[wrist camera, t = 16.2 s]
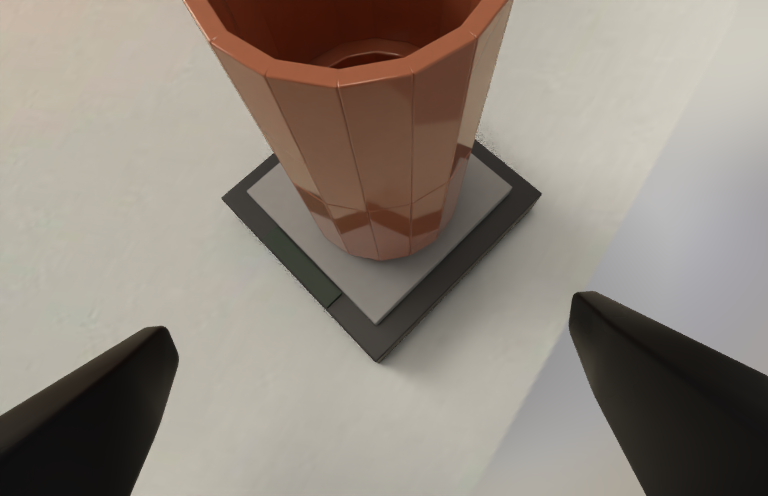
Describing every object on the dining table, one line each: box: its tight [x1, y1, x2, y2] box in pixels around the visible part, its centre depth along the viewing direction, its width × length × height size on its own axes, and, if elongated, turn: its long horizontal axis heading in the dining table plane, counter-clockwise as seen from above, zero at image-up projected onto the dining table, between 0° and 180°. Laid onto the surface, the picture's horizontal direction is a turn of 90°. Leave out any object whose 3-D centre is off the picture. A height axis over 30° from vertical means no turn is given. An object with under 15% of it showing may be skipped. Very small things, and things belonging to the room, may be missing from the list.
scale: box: [222, 140, 541, 363], centre depth 23 cm, size 12×12×3 cm
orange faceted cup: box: [182, 0, 513, 261], centre depth 15 cm, size 7×7×13 cm
